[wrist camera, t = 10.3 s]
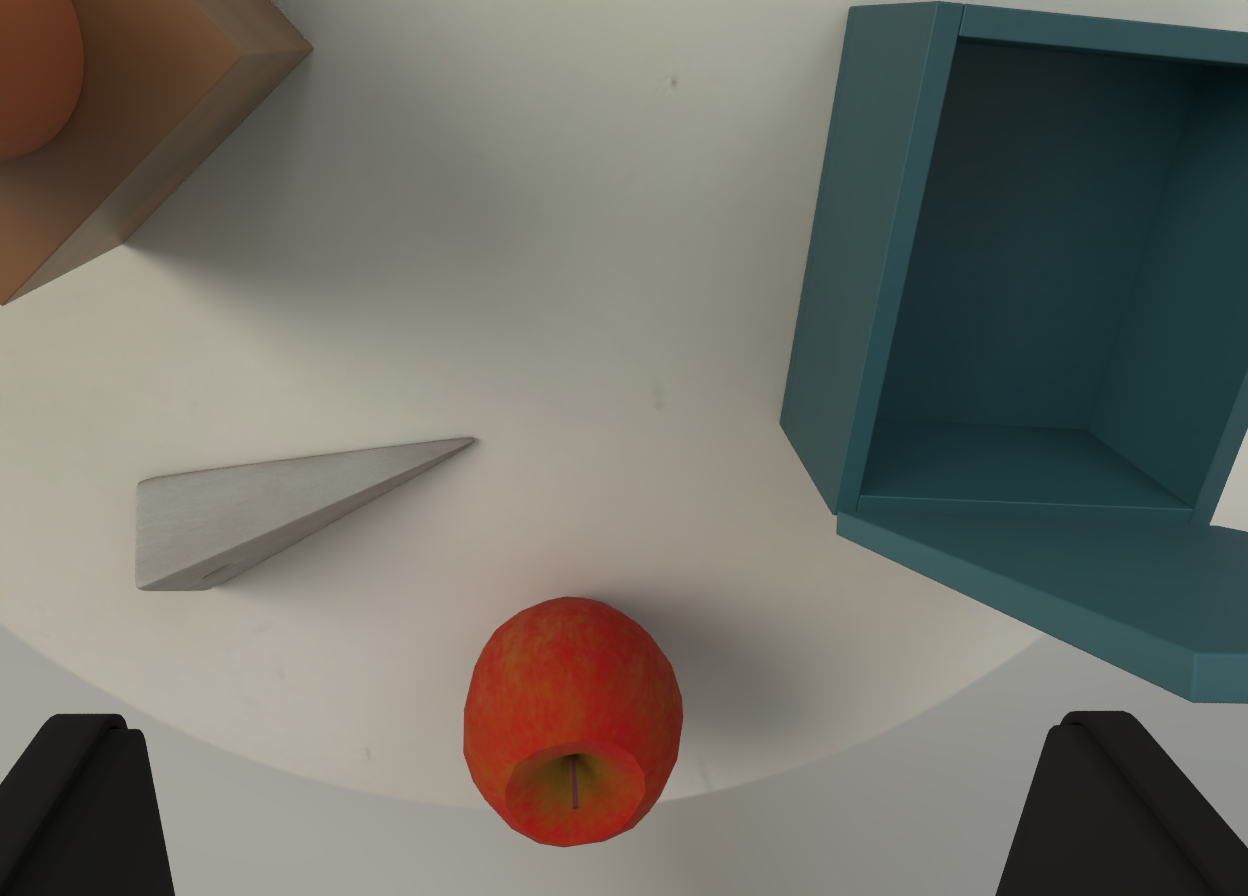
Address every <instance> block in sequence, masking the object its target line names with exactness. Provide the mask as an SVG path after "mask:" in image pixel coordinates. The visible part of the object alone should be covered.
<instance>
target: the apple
mask: <svg viewBox="0 0 1248 896" xmlns="http://www.w3.org/2000/svg"><path fill="white" fill-rule="evenodd" d="M682 722H683V709H682V697H681V694H680V690H679V687H678V684H677V681H676V678H675V675H674V671H673V668H672V665H671V663H670V662H669V661H668V659H667V658H666V656H665V655H664V654H663V652H662V651H661V650H660V648H659V647H658V645H657V644H656V643H655V641H654V640H653V639H652V637H651V636H650V635H649V634H648V633H647V632H646V631H645V630H644V629H643V628H642V627H641V626H640V625H638V624H637V623H636V622H635V621H633V620H631V619H630V618H628V617H627V616H625V615H624V614H622V613H621V612H619V611H617V610H616V609H614V608H612V607H610V606H608V605H606V604H604V603H602V602H598V601H594V600H590V599H586V598H578V597H561V598H557V599H552V600H548V601H545V602H542V603H540V604H538V605H535V606H533V607H530V608H528V609H525V610H523V611H521V612H519V613H518V614H516V615H515V616H513V617H512V618H511V619H509V620H508V621H507V622H505V623H504V624H503V625H502V626H500V627H499V628H498V629H496V631H495V632H494V634H493V635H492V637H491V638H490V640H489V641H488V643H487V644H486V646H485V647H484V649H483V651H482V653H481V655H480V657H479V659H478V661H477V663H476V665H475V667H474V671H473V675H472V679H471V683H470V688H469V692H468V696H467V700H466V704H465V708H464V748H463V753H464V756H465V759H466V762H467V765H468V768H469V771H470V774H471V776H472V779H473V782H474V783H475V785H476V786H477V788H478V789H479V791H480V792H481V794H482V796H483V797H484V799H485V800H486V801H487V802H488V803H489V804H490V805H491V807H492V808H493V809H494V810H495V811H496V812H497V813H498V814H499V815H500V816H501V817H502V819H503V820H504V821H505V822H506V823H507V824H508V825H509V826H510V827H511V828H512V829H513V830H515V831H517V832H519V833H521V834H522V835H524V836H526V837H528V838H530V839H532V840H533V841H535V842H537V843H540V844H546V845H552V846H558V847H569V846H575V845H582V844H589V843H596V842H603V841H606V840H608V839H610V838H612V837H615V836H617V835H619V834H621V833H623V832H625V831H628V830H630V829H632V828H634V826H635V825H636V824H637V823H638V822H639V821H640V820H641V819H642V818H643V817H644V816H645V815H646V814H647V813H648V812H649V811H650V809H651V808H652V807H653V805H654V804H655V803H656V801H657V800H658V798H659V797H660V795H661V793H662V791H663V789H664V787H665V785H666V782H667V780H668V778H669V776H670V774H671V772H672V769H673V767H674V765H675V763H676V761H677V757H678V750H679V743H680V736H681V729H682Z"/></svg>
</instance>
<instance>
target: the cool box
mask: <svg viewBox="0 0 1248 896" xmlns="http://www.w3.org/2000/svg"><path fill="white" fill-rule="evenodd" d="M780 426H781V427H782V429H783V431H784V433H785V434H786V436H787V438H788V440H789V441H790V443H791V445H792V446H793V448H794V450H795V451H796V453H797V455H798V457H799V458H800V460H801V462H802V463H803V465H804V467H805V468H806V470H807V472H808V474H809V475H810V477H811V479H812V480H813V482H814V484H815V485H816V487H817V489H818V491H819V492H820V494H821V496H822V497H823V499H824V501H825V502H826V504H827V506H828V508H829V509H830V511H831V513H832V514H833V515H838V511H855V512H881V513H906V514H931V515H956V516H982V517H1007V518H1032V519H1058V520H1083V521H1108V522H1133V523H1159V524H1184V525H1209V524H1210V522H1211V519H1212V517H1213V514H1214V512H1215V509H1216V506H1217V504H1218V502H1219V499H1220V496H1221V494H1222V492H1223V489H1224V487H1225V484H1226V481H1227V478H1228V476H1229V474H1230V471H1231V469H1232V466H1233V464H1234V461H1235V459H1236V456H1237V454H1238V451H1239V448H1240V446H1241V444H1242V441H1243V438H1244V436H1245V433H1246V431H1247V428H1248V32H1238V31H1228V30H1218V29H1208V28H1198V27H1189V26H1179V25H1169V24H1159V23H1149V22H1139V21H1129V20H1120V19H1110V18H1100V17H1090V16H1080V15H1070V14H1061V13H1051V12H1041V11H1031V10H1021V9H1011V8H1001V7H992V6H982V5H972V4H962V3H952V2H942V1H932V2H916V3H899V4H882V5H866V6H852V7H850V9H849V15H848V21H847V27H846V33H845V39H844V45H843V50H842V56H841V62H840V68H839V74H838V80H837V86H836V92H835V98H834V104H833V110H832V116H831V122H830V128H829V134H828V140H827V146H826V151H825V157H824V163H823V169H822V175H821V181H820V187H819V193H818V199H817V205H816V211H815V217H814V223H813V229H812V235H811V241H810V246H809V252H808V258H807V264H806V270H805V276H804V282H803V288H802V294H801V300H800V306H799V312H798V318H797V324H796V330H795V336H794V341H793V347H792V353H791V359H790V365H789V371H788V377H787V383H786V389H785V395H784V401H783V407H782V413H781V419H780Z"/></svg>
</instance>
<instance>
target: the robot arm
mask: <svg viewBox="0 0 1248 896" xmlns="http://www.w3.org/2000/svg"><path fill="white" fill-rule="evenodd" d="M0 896H175V893H174V887H173V882H172V877H171V872H170V867H169V861H168V856H167V851H166V846H165V840H164V835H163V830H162V825H161V820H160V814H159V809H158V804H157V799H156V793H155V788H154V784H153V778H152V773H151V767H150V762H149V757H148V752H147V746H146V741H145V738H144V735H143V733H142V732H141V730H139V729H128V728H127V725H126V722H125V719H124V718H123V717H122V716H121V715H119V714H56V715H54V716H52V717H50V718H49V719H48V720H47V721H46V722H45V724H44V725H43V726H42V727H41V729H40V730H39V731H38V733H37V734H36V736H35V737H34V738H33V740H32V741H31V743H30V744H29V745H28V747H27V748H26V750H25V751H24V752H23V754H22V755H21V756H20V758H19V759H18V761H17V762H16V764H15V765H14V766H13V768H12V769H11V770H10V772H9V773H8V775H7V776H6V777H5V779H4V780H3V782H2V783H1V784H0ZM996 896H1248V848H1247V847H1246V846H1245V844H1244V843H1243V842H1242V841H1241V840H1240V839H1239V837H1238V836H1237V835H1236V834H1235V833H1234V832H1233V830H1232V829H1231V828H1230V827H1229V826H1228V825H1227V823H1226V822H1225V821H1224V820H1223V819H1222V818H1221V816H1220V815H1219V814H1218V813H1217V812H1216V811H1215V809H1214V808H1213V807H1212V806H1211V805H1210V804H1209V803H1208V801H1207V800H1206V799H1205V798H1204V797H1203V795H1202V794H1201V793H1200V792H1199V791H1198V790H1197V789H1196V787H1195V786H1194V785H1193V784H1192V783H1191V781H1190V780H1189V779H1188V778H1187V777H1186V776H1185V774H1184V773H1183V772H1182V771H1181V770H1180V769H1179V767H1178V766H1177V765H1176V764H1175V763H1174V762H1173V760H1172V759H1171V758H1170V757H1169V756H1168V755H1167V753H1166V752H1165V751H1164V750H1163V749H1162V748H1161V746H1160V745H1159V744H1158V743H1157V742H1156V741H1155V739H1154V738H1153V737H1152V736H1151V735H1150V734H1149V732H1148V731H1147V730H1146V729H1145V728H1144V727H1143V725H1142V724H1141V723H1140V722H1139V721H1138V720H1137V719H1136V718H1135V717H1134V716H1133V715H1131V714H1130V713H1127V712H1124V711H1073V712H1069V713H1068V714H1067V715H1066V716H1065V717H1064V718H1063V720H1062V722H1061V724H1060V725H1056V726H1053V727H1052V728H1051V729H1050V730H1049V732H1048V734H1047V737H1046V740H1045V743H1044V746H1043V749H1042V752H1041V756H1040V759H1039V762H1038V765H1037V768H1036V771H1035V774H1034V777H1033V781H1032V784H1031V787H1030V790H1029V793H1028V796H1027V799H1026V802H1025V805H1024V808H1023V812H1022V815H1021V818H1020V821H1019V824H1018V827H1017V830H1016V834H1015V836H1014V840H1013V843H1012V846H1011V849H1010V852H1009V855H1008V858H1007V861H1006V864H1005V868H1004V871H1003V874H1002V877H1001V880H1000V883H999V886H998V889H997V893H996Z"/></svg>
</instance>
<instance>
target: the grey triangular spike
mask: <svg viewBox="0 0 1248 896" xmlns="http://www.w3.org/2000/svg"><path fill="white" fill-rule="evenodd" d="M473 442H475V439H474V438H460V439H451V440H442V441H433V442H425V443H416V444H408V445H400V446H392V447H384V448H376V449H368V450H360V451H352V452H344V453H336V454H328V455H320V456H312V457H304V458H296V459H288V460H280V461H273V462H265V463H257V464H249V465H242V466H234V467H226V468H219V469H211V470H204V471H196V472H189V473H182V474H175V475H169V476H162V477H156V478H151V479H147V480H143V481H141V482H139V483H138V486H137V508H136V561H135V581H136V586H137V588H138V589H140V590H144V591H202V590H208V589H211V588H213V587H215V586H217V585H219V584H221V583H223V582H225V581H227V580H229V579H230V578H232V577H234V576H236V575H238V574H240V573H241V572H243V571H245V570H247V569H249V568H251V567H252V566H254V565H256V564H258V563H260V562H262V561H263V560H265V559H267V558H269V557H271V556H272V555H274V554H276V553H278V552H280V551H281V550H283V549H285V548H287V547H289V546H291V545H292V544H294V543H296V542H298V541H300V540H301V539H303V538H305V537H307V536H309V535H310V534H312V533H314V532H316V531H318V530H319V529H321V528H323V527H325V526H327V525H328V524H330V523H332V522H334V521H336V520H337V519H339V518H341V517H343V516H345V515H346V514H348V513H350V512H352V511H354V510H355V509H357V508H359V507H361V506H363V505H364V504H366V503H368V502H370V501H372V500H373V499H375V498H377V497H379V496H381V495H382V494H384V493H386V492H388V491H390V490H391V489H393V488H395V487H397V486H399V485H400V484H402V483H404V482H406V481H407V480H409V479H411V478H413V477H415V476H416V475H418V474H420V473H422V472H424V471H425V470H427V469H429V468H431V467H432V466H434V465H436V464H438V463H440V462H441V461H443V460H445V459H447V458H448V457H450V456H452V455H454V454H455V453H457V452H459V451H461V450H462V449H464V448H466V447H467V446H469V445H470V444H472V443H473Z"/></svg>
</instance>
